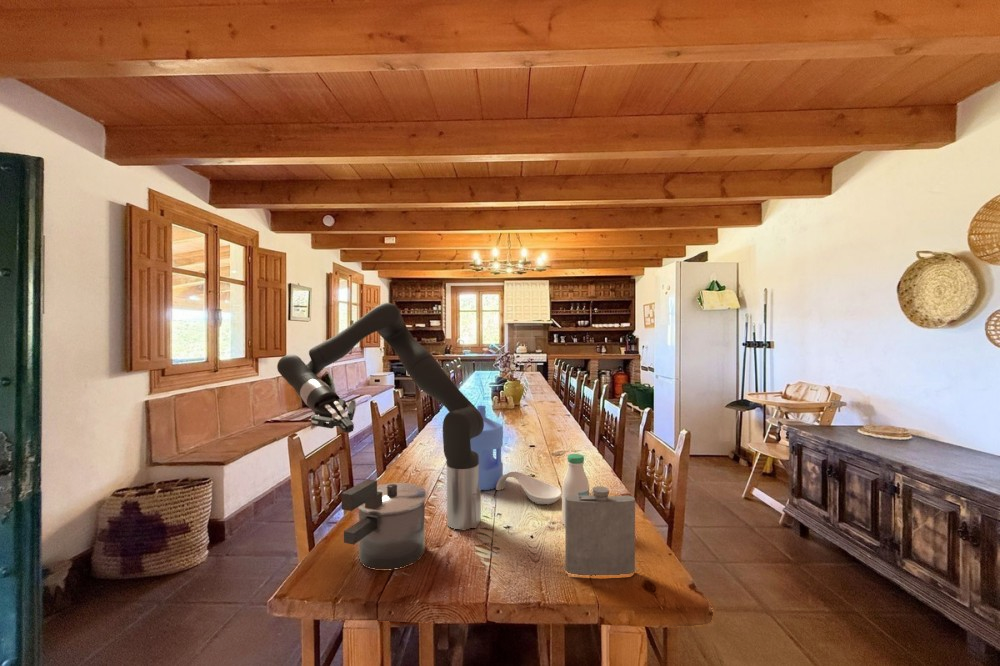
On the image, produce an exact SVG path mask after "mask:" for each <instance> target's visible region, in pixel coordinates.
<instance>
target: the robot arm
mask: <svg viewBox="0 0 1000 666" xmlns="http://www.w3.org/2000/svg"><path fill="white" fill-rule="evenodd" d="M376 332H377V334H378V335H380V337H381V338H382V339H384V341H385V342H386V344H388V345H389V346H390V347H391V349H393V350H394V352H395V354H396V356H397V357H398V358H399V361H400V362H401V365H402V366H403V368H404V369H405V371H406V373H407V374H408V376H409V377H410V378H411V380H412V381H413V383H414V384H415V385H416V386H417V388H419V389H420V390H421V391H423V392H424V393H425V394H427V395H428V396H429V397H431V398H433V399H435V400H437V402H439V403H440V404H442V406H444V408H445V409H446V410H447V411H448V413H446V415H445V416H444V419H443V422H442V443H443V444H442V446H443V454H444V457H445V459H446V525H447V527H448V526H449V527H448V528H450V527H451V528H454V529H453V530H455V529H469V528H476V527H477V528H478V526H479V524H480V522H481V519H482V517H481V515H482V513H481V512H482V509H481V508H482V507H481V506H482V505H481V504H482V503H481V502H482V497H481V496H482V495H481V493H482V492H481V488H479V456H478V454H477V453H476V452H474V451H471V443H470V439H472V438H474V437H476V436H478V435H479V434H481V432H482V431H483V428H484V421H483V418H482V415H481V414H480V412H479V411H478V408H477V406H475V404H473V403H472V402H471V401H470V400H469V398H468V397H466V396H465V394H463V392H461V391H460V389H459V388H458V387H457V385H456V384H455V383H454V382H453V381H452V379H451V378H450V377H449V375H448V374H447V373H446V371H445V370H444V369H443V367H442V366H441V364H440V363H439V362H438V360H436V358H435V356H433V354H431V352H430V351H429V350H428V349H427V348H426V347H424V346H423V345H422V344H421V343H419V342H418V341H417V340H416V338H415V337H413V335H412V333H411V331H410V330H409V328H408V327H407V325H406V323H405V321H404V318H403V316H402V314H401V311H400V309H399V308H398V307H397V306H396V305H395V304H393V303H391V302H383V303H381V304H378V305H377V306H375V307H373V308H372V309H371V310H369V311H368V312H367V313H365V314H364V315H363V316H362V317H360V318H359V319H357V320H356V321H354V323H352V324H350V325H349V326H348V327H346V328H344V329H343V330H342V331H340V332H339V333H337V334H336V335H333V336H332V337H331V338H329V339H326V340H324V341H322V342H321V343H319V344H317V345H315V346H313V347H312V348H310V349H309V351H308V355H309V358H310V361H309V362H308V363H307V364H306V363H305V361H303V360H302V359H301V357H300V356H298V355H295V354H286V355H284V356H282V357H281V358H279V360H278V362H277V365H276V366H277V367H276V369H277V372H278V374H280V376H282V377H283V379H284V380H285V381H286V382H287V383H288V384H289V385H290V386H291V387H293V389H294V391H295V392H296V393H297V394H298V395H299V396H300V398H301V399H302V401H303V402H304V404H305V405H306V406H307V407H308V408H309V409H310V410H311V411H312V412H313V414H312V415H311V417H310V421H311V425H312V426H315V427H320V428H325V429H326V428H327V429H333V428H335V427H337V428H339V429H340V430H341V431H342V432H344V433H347V434H350V433H352V432H354V429H355V426H354V422H353V420H354V416H355V412H356V408H357V406H356V400H354V399H352V400H350V402H346V400H344V399H341V398H340V396H339V395H338V394H337V392H335V391H334V390H333V389H332V388H331V386H330V385H328V384H327V383H326V382H324V381H323V380H322V379H321V378H320V377H318V374H320V373H321V371H323V370H324V369H325V368H326V367H328V366H330V365H332V364H333V363H335V362H337V361H339V360H341V359H342V358H344V357H345V356H346V355H349V353H350V352H351V351H352V350H353V349H354V347H356V346H357V345H358V344H359V343H360V342H361V341H362V340H363V339H365V338H366V337H368V336H369V335H372V334H374V333H376ZM346 408H347V410H348V411H347V412H346ZM451 528H450V529H451ZM477 528H476V529H477ZM469 530H470V529H469Z"/></svg>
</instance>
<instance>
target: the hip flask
mask: <svg viewBox="0 0 1000 666" xmlns="http://www.w3.org/2000/svg"><path fill="white" fill-rule="evenodd" d="M592 493H593V494H591V495H590V494H589V495H586V496H567V497H566V498H565V527H564V530H565V535H564V536H565V539H564V540H565V543H564V544H565V545H564V546H565V549H564V550H565V552H564V554H565V556H564V557H565V558H564V559H565V560H564V561H565V566H564V567H565V570H566V571H567V572H568V573H571V574H578V575H590V576H592V575H595V576H596V575H620V574H630V573H633V572H635V573H636V498H635V496H631V495H616V496H609V494H610V489H609V488H608V487H605V486H594V487H593V488H592Z"/></svg>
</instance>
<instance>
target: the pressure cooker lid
mask: <svg viewBox="0 0 1000 666" xmlns="http://www.w3.org/2000/svg"><path fill="white" fill-rule="evenodd" d="M426 493H427V492H426V489H425V488H424V487H423V486H421V485H418V484H416V483H412V482H411V483H410V482H388V483H382V484H378V480H376V479H369V478H368V479H366V480H363V481H361V482H360V483H358V484H356V485H354V486H353V487H350V488H349V489H347V490H345V491H342V492H341V510H344V511H348V512H353V511H354V510H356V509H358V510H359V509H360V510H361V511H363V512H365V513H369V514H374V515H393V514H400V513H404V512H408V511H411V510H413V509H416V508H418V507H419V506H421V505H422V504H423V503H424V502H425V501H426V499H427V497H426V496H427V495H426Z"/></svg>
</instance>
